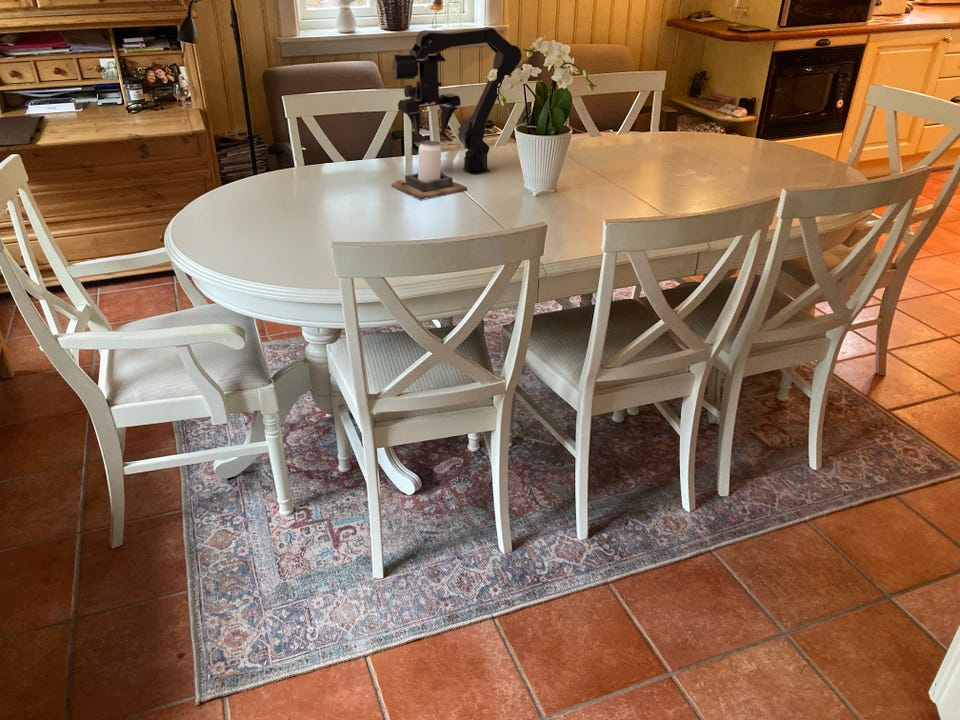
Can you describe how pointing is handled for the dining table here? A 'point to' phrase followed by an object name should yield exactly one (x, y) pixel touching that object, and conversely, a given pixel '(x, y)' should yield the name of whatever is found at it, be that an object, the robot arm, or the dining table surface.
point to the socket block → (428, 186)
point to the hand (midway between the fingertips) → (430, 132)
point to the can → (429, 161)
